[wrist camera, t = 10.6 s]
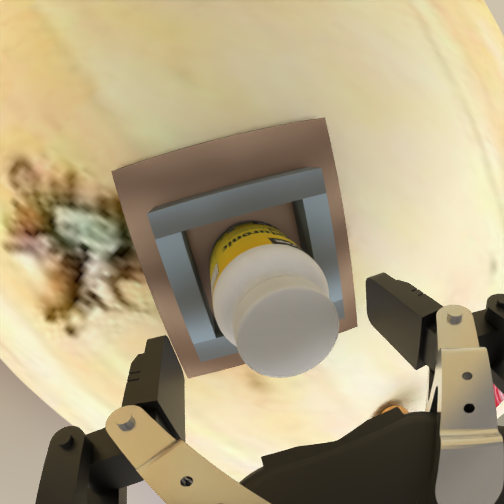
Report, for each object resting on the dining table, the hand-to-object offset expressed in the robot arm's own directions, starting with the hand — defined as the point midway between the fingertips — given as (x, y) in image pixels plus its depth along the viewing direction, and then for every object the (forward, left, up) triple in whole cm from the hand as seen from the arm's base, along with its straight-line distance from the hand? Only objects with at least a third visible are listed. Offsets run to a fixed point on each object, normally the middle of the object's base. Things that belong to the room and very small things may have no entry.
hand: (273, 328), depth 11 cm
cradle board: (0, +1, -11) cm, 11 cm away
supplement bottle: (0, +1, -9) cm, 9 cm away
